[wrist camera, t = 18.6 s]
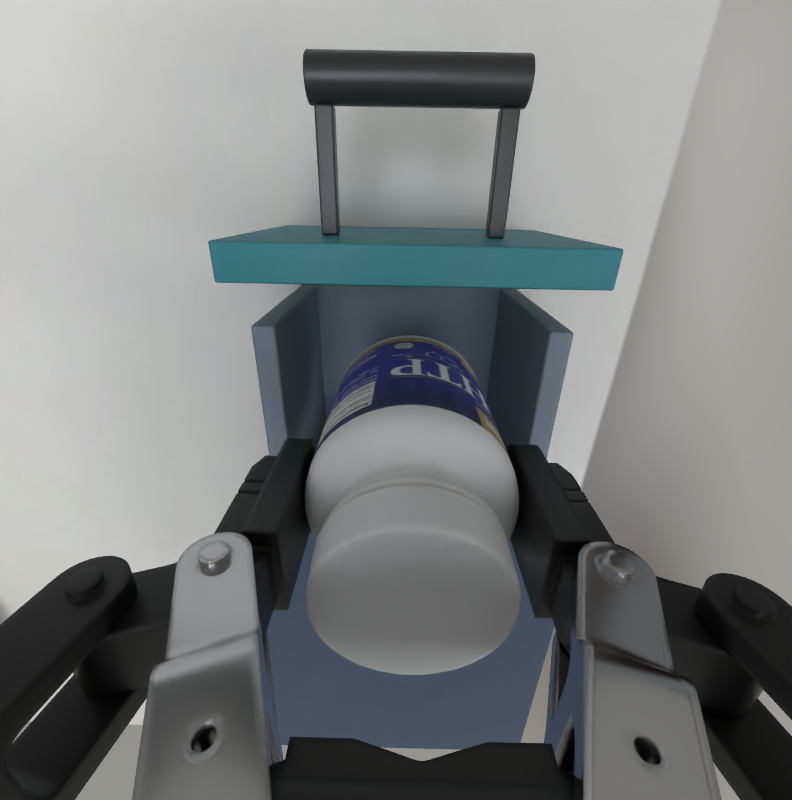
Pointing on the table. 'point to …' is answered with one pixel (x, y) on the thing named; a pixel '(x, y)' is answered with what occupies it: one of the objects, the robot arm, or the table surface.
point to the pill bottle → (411, 515)
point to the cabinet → (402, 686)
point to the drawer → (413, 261)
